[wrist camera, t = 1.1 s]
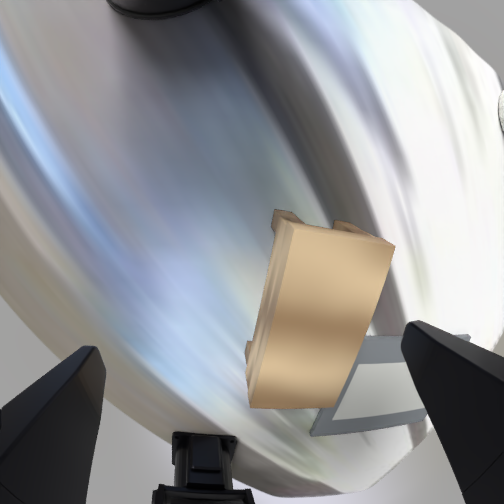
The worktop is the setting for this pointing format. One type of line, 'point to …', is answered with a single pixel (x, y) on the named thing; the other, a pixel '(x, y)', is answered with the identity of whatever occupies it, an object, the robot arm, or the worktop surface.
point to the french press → (156, 8)
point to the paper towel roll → (501, 109)
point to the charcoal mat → (374, 392)
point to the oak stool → (313, 312)
